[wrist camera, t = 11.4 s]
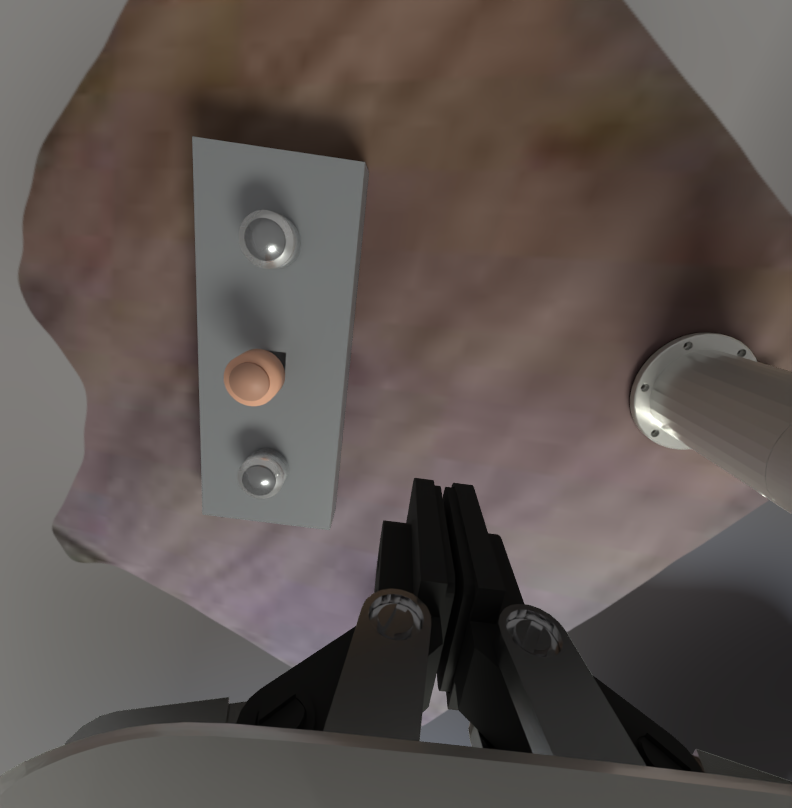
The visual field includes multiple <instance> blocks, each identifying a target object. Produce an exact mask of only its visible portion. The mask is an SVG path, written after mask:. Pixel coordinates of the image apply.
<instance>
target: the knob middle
mask: <svg viewBox="0 0 792 808" xmlns="http://www.w3.org/2000/svg"><path fill="white" fill-rule="evenodd" d="M284 381H285V370H284V367H283V365H282V363H281V361H280V360H279V359H278V358H277V357H276V356H275V355H274V354H273V353H271V352H269V351H267V350H264V349H251V350H248V351H246V352H244V353H242V354H241V355H239V356H237V357H236V358H234V359H233V360H231V361H230V362H229V363H228V365H227V366H226V368H225V371H224V384H225V387H226V389H227V391H228V393H229V394H230V395H231V396H232V397H233V398H234V399H235V400H236V401H238V402H239V403H241V404H244V405H247V406H260V405H263V404H265V403H267V402H269V401H270V400H271V399H272V398H273V397H274V396H275V395H276V394H277V393H278V392H279V390H280V389H281V388H282V386H283V384H284Z"/></svg>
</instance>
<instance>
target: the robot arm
mask: <svg viewBox="0 0 792 808" xmlns="http://www.w3.org/2000/svg"><path fill="white" fill-rule="evenodd" d="M641 386H642V387H641ZM630 410H631V414H632V418H633V420H634V422H635V424H636V426H637V427H638V428H639V430H640V431H641V432H642V433H643V434H644V435H645V436H646V437H648V438H649V439H650V440H652V441H654V442H655V443H657V444H659V445H661V446H664V447H667V448H671V449H679V450H683V449H693V450H694V451H696V452H697V453H699V454H700V455H702V456H703V457H705V458H706V459H708V460H710V461H711V462H713V463H714V464H716V465H717V466H719V467H720V468H722V469H723V470H725V471H726V472H728V473H729V474H731V475H732V476H734V477H735V478H737V479H739V480H740V481H742V482H743V483H745V484H746V485H748V486H749V487H751V488H752V489H754V490H755V491H757V492H758V493H760V494H761V495H763V496H764V497H766V498H767V499H769V500H771V501H772V502H774V503H775V504H777V505H778V506H780V507H781V508H783V509H785V510H786V511H788V512H789V513H791V514H792V372H791V371H788V370H784V369H781V368H777V367H774V366H770V365H767V364H763V363H760V362H757V360H756V357H755V356H754V354H753V353H752V352H751V350H750V349H749V348H748V347H747V346H746V345H744V344H743V343H742V342H741V341H739V340H737V339H735V338H733V337H730V336H726V335H722V334H717V333H710V332H705V333H694V334H690V335H685V336H682V337H680V338H678V339H675V340H673V341H671V342H669V343H668V344H666V345H664V346H663V347H661V348H660V349H659V350H657V351H656V352H655V353H654V354H653V355H652V356H651V357H650V358H649V359H648V360H647V361H646V362H645V364H644V365H643V366H642V368H641V369H640V371H639V372H638V374H637V376H636V378H635V381H634V383H633V386H632V390H631V395H630ZM436 673H437V681H438V689H439V691H446V695H447V705H448V709H452V710H459V711H460V712H461V713H462V714H463V715H464V716H465V717H466V718H467V719H468V720H469V721H470V723H469V728H468V729H469V736H470V742H471V745H472V747H468V746H459V745H449V744H439V743H430V742H421V741H419V740H420V730H421V721H422V713H423V712H424V711H425V710H426V709H427V708H428V707H429V703H430V698H431V694H432V690H433V686H434V682H435V678H436ZM0 808H792V781H789V780H786V779H783V778H780V777H777V776H774V775H771V774H768V773H765V772H762V771H759V770H756V769H753V768H750V767H747V766H745V765H741V764H739V763H736V762H733V761H730V760H727V759H724V758H721V757H718V756H715V755H712V754H709V753H706V752H703V751H701V750H698V749H696V750H695V752H694V753H693V755H691V754H690V752H689V751H688V750H687V749H686V748H685V747H684V746H683V745H682V744H681V743H680V742H679V741H678V740H676V739H675V738H674V737H673V736H672V735H671V734H670V733H668V732H667V731H666V730H664V729H663V728H662V727H660V726H659V725H658V724H656V723H655V722H654V721H652V720H651V719H650V718H648V717H647V716H645V715H644V714H643V713H642V712H640V711H639V710H638V709H636V708H635V707H634V706H632V705H631V704H630V703H629V702H627V701H626V700H625V699H623V698H622V697H620V696H619V695H618V694H617V693H615V692H614V691H613V690H611V689H610V688H609V687H607V686H606V685H605V684H603V683H602V682H601V681H599V680H598V679H597V678H595V677H594V676H593V675H592V674H591V672H590V671H589V669H588V667H587V666H586V664H585V662H584V661H583V659H582V658H581V655H580V654H579V652H578V650H577V649H576V647H575V646H574V644H573V642H572V641H571V639H570V637H569V635H568V634H567V632H566V631H565V629H564V628H563V627H562V625H561V624H560V623H559V622H558V621H557V620H556V619H555V618H553V617H552V616H551V615H550V614H548V613H546V612H545V611H543V610H541V609H539V608H536V607H534V606H531V605H525V604H524V602H523V599H522V596H521V593H520V590H519V587H518V585H517V582H516V579H515V576H514V573H513V570H512V567H511V565H510V562H509V559H508V556H507V553H506V550H505V548H504V545H503V542H502V539H501V537H500V536H499V535H497V534H489V533H488V532H487V528H486V525H485V522H484V519H483V515H482V512H481V509H480V506H479V502H478V499H477V496H476V493H475V490H474V487H473V485H467V484H459V483H453V484H452V487H451V488H450V487H445V490H444V494H443V498H442V492H441V487H440V486H435V485H434V480H427V479H420V478H414V481H413V487H412V492H411V498H410V504H409V510H408V516H407V522H406V523H400V522H392V521H383V525H382V532H381V538H380V545H379V553H378V561H377V570H376V581H375V592H374V593H373V594H372V595H371V596H370V597H368V598H367V599H366V601H365V603H364V604H363V606H362V609H361V612H360V615H359V618H358V621H357V625H356V626H355V627H354V628H352V629H351V630H349V631H348V632H346V633H345V634H343V635H342V636H340V637H339V638H337V639H336V640H334V641H332V642H331V643H329V644H328V645H326V646H325V647H323V648H322V649H320V650H319V651H317V652H316V653H314V654H313V655H311V656H310V657H308V658H307V659H305V660H304V661H302V662H301V663H299V664H298V665H296V666H294V667H293V668H291V669H290V670H288V671H287V672H286V673H284V674H282V675H281V676H279V677H278V678H276V679H275V680H273V681H272V682H270V683H269V684H267V685H266V686H264V687H263V688H261V689H260V690H259V691H257V692H256V693H255V694H254V695H253V696H252V697H251V698H249V700H248V701H247V702H239V703H230V704H229V697H226V698H219V699H210V700H202V701H194V702H187V703H179V704H170V705H162V706H154V707H146V708H139V709H131V710H123V711H116V712H113V713H109V714H106V715H102V716H99V717H98V718H96V719H94V720H93V721H91V722H89V723H87V724H86V725H84V726H82V727H81V728H80V729H79V730H78V731H77V732H76V733H75V734H74V735H73V736H72V737H71V738H70V739H69V740H67V742H66V743H65V745H63V746H60V747H58V748H55V749H52V750H50V751H47V752H45V753H43V754H41V755H39V756H36V757H34V758H32V759H29V760H28V761H25V762H23V763H21V764H19V765H18V766H16V767H14V768H12V769H11V770H9V771H7V772H5V773H4V774H2V775H1V776H0Z"/></svg>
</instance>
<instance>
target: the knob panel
mask: <svg viewBox="0 0 792 808" xmlns="http://www.w3.org/2000/svg"><path fill="white" fill-rule="evenodd" d="M192 143H193V180H194V217H195V254H196V291H197V328H198V365H199V402H200V439H201V476H202V513H203V515H211V516H219V517H227V518H235V519H243V520H251V521H259V522H268V523H276V524H284V525H292V526H300V527H308V528H316V529H324V530H330V528H331V524H332V520H333V517H334V513H335V509H336V499H337V489H338V479H339V469H340V459H341V449H342V439H343V428H344V418H345V408H346V398H347V388H348V378H349V368H350V358H351V348H352V338H353V328H354V318H355V308H356V298H357V287H358V277H359V267H360V257H361V247H362V237H363V227H364V217H365V207H366V197H367V187H368V177H369V171H368V168H367V166H366V163H365V162H361V161H354V160H347V159H341V158H334V157H327V156H320V155H314V154H307V153H300V152H294V151H287V150H280V149H273V148H267V147H260V146H253V145H247V144H240V143H233V142H226V141H220V140H213V139H206V138H200V137H193V136H192ZM258 210H269V211H272V212H275V213H278V214H280V215H283V216H285V217H286V218H288V219H289V220H290V221H291V222H292V223H293V224H294V225H295V227H296V228H297V230H298V233H299V236H300V251H299V254H298V256H297V258H296V259H295V260H294V261H293V262H292V263H291V264H290V265H288V266H286V267H283V268H274V269H265V268H261V267H258V266H256V265H254V264H253V263H251V262H250V261H249V260H248V259H247V258H246V256H245V255H244V253H243V252H242V249H241V247H240V244H239V229H240V226H241V224H242V222H243V220H244V219H245V218H246V217H247V216H248V215H249V214H251V213H252V212H255V211H258ZM251 349H264V350H267V351H269V352H271V353H273V354H274V355H275V356H276V357H277V358H278V359H279V360H280V361H281V363H282V365H283V367H284V370H285V381H284V384H283V386H282V388H281V389H280V390H279V392H278V393H277V394H276V395H275V396H274V397H273V398H272V399H271V400H270V401H269V402H267V403H265V404H263V405H260V406H247V405H244V404H241V403H239V402H238V401H236V400H235V399H234V398H233V397H232V396H231V395H230V394H229V393H228V391H227V389H226V387H225V384H224V371H225V368H226V366H227V365H228V363H229V362H230V361H231V360H233V359H234V358H236V357H237V356H239V355H241V354H242V353H244V352H246V351H248V350H251ZM262 448H268V449H272V450H275V451H277V452H279V453H280V454H281V455H282V456H283V457H284V458H285V459H286V461H287V463H288V468H289V471H288V475H287V477H286V479H285V481H284V483H283V485H282V487H281V489H280V490H279V492H278V493H277V494H276V495H274V496H272V497H270V498H266V499H259V498H255V497H252V496H250V495H248V494H247V493H245V492H244V491H243V490H242V488H241V487H240V485H239V483H238V479H237V474H238V470H239V468H240V467H241V465H242V464H243V463H244V462H245V460H246V459H247V458H248V457H249V455H250V454H251V453H252V452H254V451H255V450H258V449H262Z"/></svg>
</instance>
